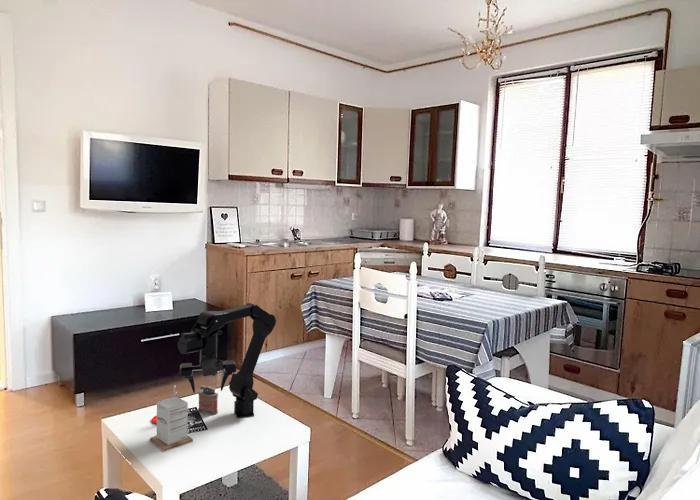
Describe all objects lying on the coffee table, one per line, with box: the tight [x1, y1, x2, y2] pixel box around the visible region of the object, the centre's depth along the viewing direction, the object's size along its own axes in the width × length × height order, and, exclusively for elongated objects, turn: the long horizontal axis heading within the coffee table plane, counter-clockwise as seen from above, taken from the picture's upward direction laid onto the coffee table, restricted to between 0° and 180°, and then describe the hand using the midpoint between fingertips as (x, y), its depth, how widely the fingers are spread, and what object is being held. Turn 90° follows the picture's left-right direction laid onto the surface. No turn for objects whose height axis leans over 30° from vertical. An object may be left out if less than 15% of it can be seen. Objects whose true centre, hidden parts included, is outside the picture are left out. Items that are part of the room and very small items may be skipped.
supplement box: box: [156, 396, 189, 445], centre depth 164 cm, size 7×7×13 cm
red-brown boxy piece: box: [197, 385, 219, 416], centre depth 188 cm, size 8×3×10 cm, turn 71°
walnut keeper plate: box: [149, 434, 194, 452], centre depth 165 cm, size 10×10×1 cm
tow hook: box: [151, 385, 178, 425], centre depth 180 cm, size 8×13×9 cm
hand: (207, 391), depth 174 cm, fingers open, 9 cm apart
